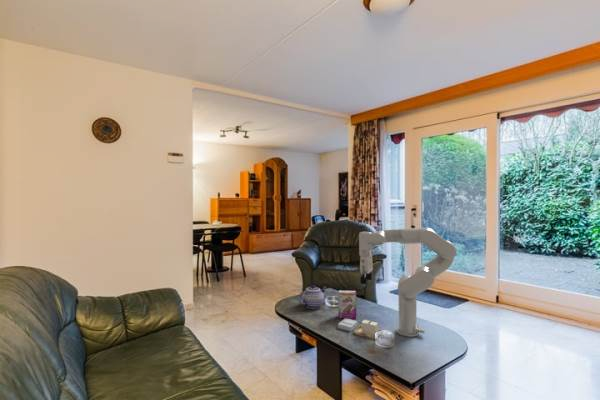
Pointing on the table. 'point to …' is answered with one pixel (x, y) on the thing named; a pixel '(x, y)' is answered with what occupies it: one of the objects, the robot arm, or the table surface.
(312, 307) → the teapot
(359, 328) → the tray
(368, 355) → the table surface
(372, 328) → the stub
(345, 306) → the candy bar box
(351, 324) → the striped square panel
